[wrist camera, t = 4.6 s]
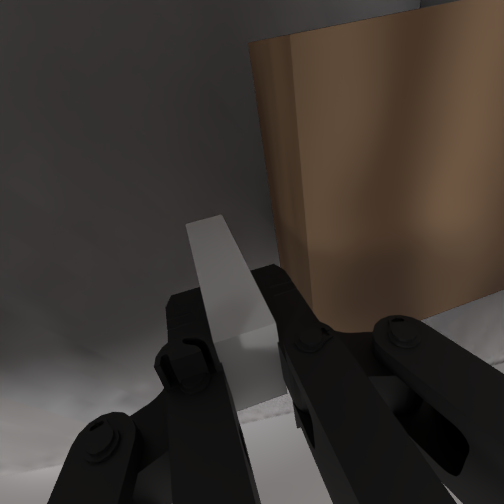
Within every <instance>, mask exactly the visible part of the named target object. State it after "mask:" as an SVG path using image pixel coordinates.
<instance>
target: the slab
mask: <svg viewBox="0 0 504 504" xmlns="http://www.w3.org/2000/svg"><path fill="white" fill-rule="evenodd" d="M248 46H249V53H250V59H251V66H252V73H253V80H254V87H255V94H256V101H257V108H258V114H259V121H260V128H261V135H262V142H263V149H264V156H265V163H266V170H267V176H268V183H269V190H270V197H271V204H272V211H273V218H274V225H275V232H276V238H277V245H278V252H279V259H280V266H281V268H282V269H284V270H285V271H286V272H287V274H288V275H289V277H290V278H291V280H292V282H293V283H294V284H295V286H296V287H297V290H299V292H300V293H301V295H302V296H303V298H304V299H305V301H306V302H307V304H308V305H309V307H310V308H311V310H312V311H313V313H314V314H315V316H316V317H317V319H318V320H319V321H320V322H322V323H324V324H327V325H329V326H330V327H331V328H332V329H333V330H335V331H339V332H345V333H356V332H373V329H374V325H375V324H376V323H377V322H378V321H379V320H380V319H382V318H384V317H387V316H390V315H404V316H409V317H413V318H415V319H417V320H419V321H420V320H423V319H425V318H428V317H431V316H433V315H436V314H439V313H442V312H444V311H447V310H450V309H452V308H455V307H458V306H460V305H463V304H466V303H469V302H471V301H474V300H477V299H479V298H482V297H485V296H488V295H490V294H493V293H496V292H498V291H501V290H504V0H460V1H455V2H450V3H444V4H439V5H434V6H429V7H424V8H419V9H414V10H409V11H404V12H399V13H394V14H389V15H384V16H379V17H374V18H369V19H364V20H359V21H354V22H349V23H344V24H339V25H334V26H329V27H324V28H319V29H314V30H309V31H304V32H299V33H294V34H289V35H284V36H279V37H274V38H269V39H264V40H259V41H254V42H249V43H248Z"/></svg>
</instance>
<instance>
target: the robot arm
mask: <svg viewBox="0 0 504 504" xmlns="http://www.w3.org/2000/svg"><path fill="white" fill-rule="evenodd" d="M185 225H186V229H187V234H188V238H189V242H190V246H191V251H192V255H193V259H194V263H195V267H196V272H197V276H198V280H199V284H200V287H198V288H195V289H191V290H188V291H185V292H181V293H178V294H175V295H171V297H170V299H169V301H168V304H167V306H166V319H167V330H168V343H167V344H166V345H165V346H163V347H162V349H161V350H160V352H159V353H158V355H157V356H156V359H155V364H154V368H155V370H156V372H157V374H158V376H159V378H160V380H161V382H162V384H163V386H164V389H163V391H162V392H161V393H160V394H159V395H158V396H157V397H156V398H155V399H154V400H153V401H152V402H150V403H149V404H148V405H146V406H145V407H143V408H142V409H140V410H139V411H137V412H136V413H134V414H133V415H131V416H128V415H127V414H125V413H123V412H111V413H108V414H105V415H101V416H100V417H98V418H97V419H95V420H93V421H92V422H90V423H89V424H88V425H87V426H86V427H85V428H84V429H83V430H82V431H81V432H80V433H79V434H78V436H77V437H76V439H75V441H74V443H73V444H72V446H71V448H70V450H69V453H68V455H67V457H66V460H65V462H64V465H63V467H62V470H61V472H60V474H59V477H58V479H57V481H56V484H55V486H54V489H53V491H52V493H51V496H50V498H49V501H48V503H47V504H261V502H260V498H259V494H258V490H257V486H256V483H255V479H254V475H253V471H252V467H251V463H250V459H249V456H248V452H247V448H246V444H245V441H244V437H243V433H242V430H241V426H240V423H239V420H238V416H237V411H240V410H243V409H246V408H248V407H251V406H254V405H257V404H259V403H262V402H265V401H268V400H270V399H273V398H276V397H279V396H281V395H284V394H287V388H288V390H289V393H290V395H291V397H292V400H293V407H294V414H295V420H296V425H297V428H300V427H301V428H302V431H303V433H304V436H305V438H306V440H307V443H308V445H309V448H310V450H311V452H312V455H313V457H314V460H315V462H316V464H317V466H318V469H319V471H320V474H321V476H322V478H323V481H324V483H325V486H326V488H327V490H328V493H329V495H330V498H331V500H332V502H333V504H457V503H456V502H455V500H454V499H453V498H452V496H451V495H450V493H449V492H448V490H447V489H446V488H445V486H446V487H447V488H449V490H450V491H451V492H452V493H453V494H454V495H455V496H456V497H457V498H458V499H459V500H460V501H461V502H462V503H463V504H504V374H503V373H501V372H500V371H498V370H497V369H495V368H494V367H492V366H491V365H489V364H487V363H486V362H484V361H483V360H481V359H480V358H478V357H476V356H475V355H473V354H472V353H470V352H469V351H467V350H466V349H464V348H462V347H461V346H459V345H458V344H456V343H455V342H453V341H451V340H450V339H448V338H447V337H445V336H444V335H442V334H440V333H439V332H437V331H436V330H434V329H433V328H431V327H430V326H428V325H426V324H425V323H423V322H421V321H419V320H417V319H415V318H413V317H409V316H404V315H390V316H387V317H384V318H382V319H380V320H379V321H378V322H377V323H376V324H375V325H374V329H373V332H356V333H345V332H339V331H335V330H333V329H332V328H331V327H330V326H329V325H327V324H324V323H322V322H320V321H319V320H318V319H317V317H316V316H315V314H314V313H313V311H312V310H311V308H310V307H309V305H308V304H307V302H306V301H305V299H304V298H303V296H302V295H301V293H300V292H299V290H297V287H296V286H295V284H294V283H293V282H292V280H291V278H290V277H289V275H288V274H287V272H286V271H285V270H284V269H282V268H280V267H278V266H277V265H275V264H272V265H269V266H265V267H262V268H258V269H255V270H252V271H250V270H249V268H248V266H247V264H246V262H245V260H244V258H243V256H242V254H241V252H240V250H239V248H238V246H237V244H236V242H235V240H234V238H233V236H232V234H231V232H230V230H229V228H228V226H227V224H226V222H225V220H224V218H223V216H222V214H221V215H217V216H213V217H210V218H206V219H202V220H198V221H195V222H191V223H187V224H185ZM286 386H287V388H286ZM443 484H444V485H445V486H444V485H443Z"/></svg>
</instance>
